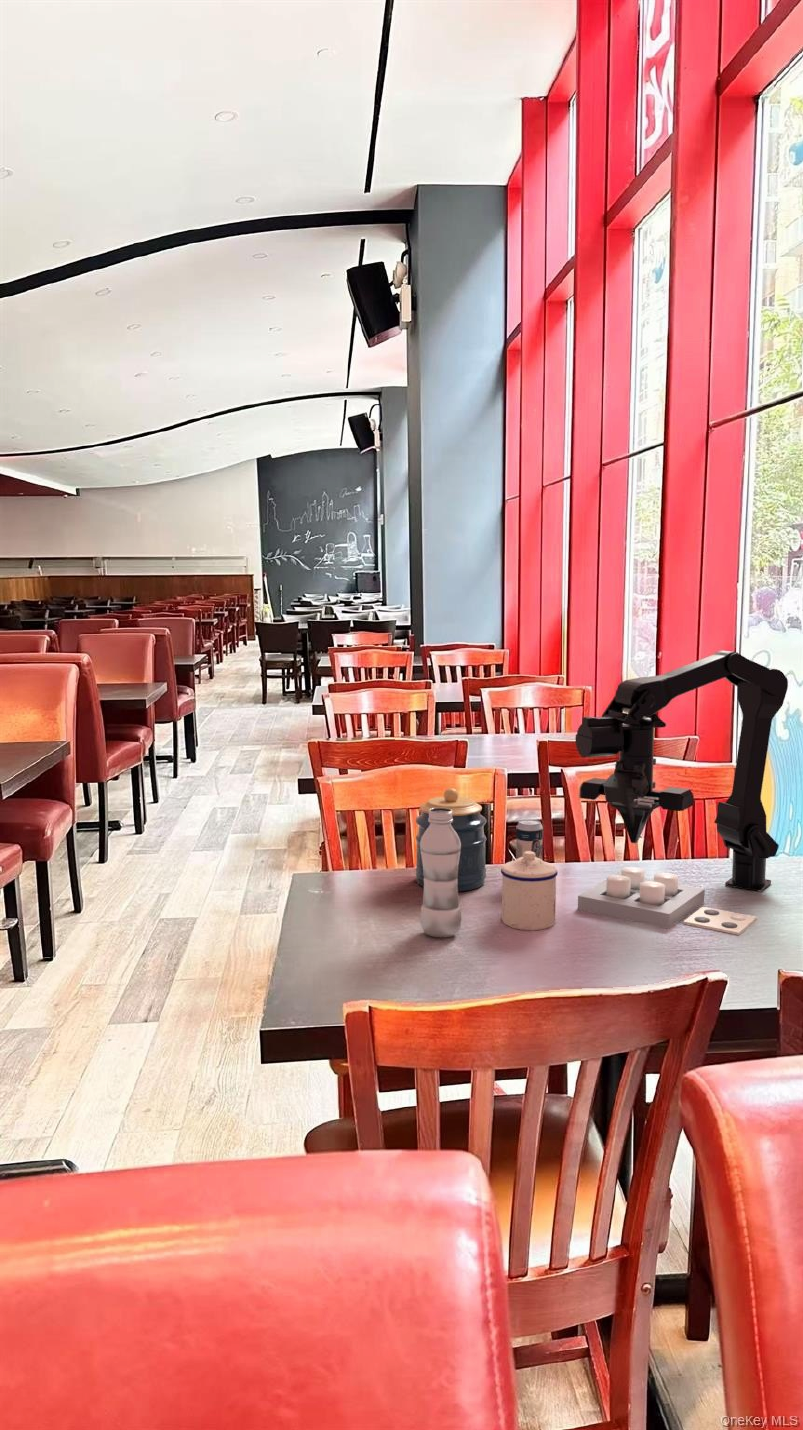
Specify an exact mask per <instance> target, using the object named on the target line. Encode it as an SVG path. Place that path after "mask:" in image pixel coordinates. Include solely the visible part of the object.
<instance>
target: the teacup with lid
mask: <svg viewBox="0 0 803 1430" xmlns="http://www.w3.org/2000/svg"><path fill="white" fill-rule="evenodd" d="M500 873H501V875H502V877H501V878H502V881H501V882H502V884H501V886H502V887H501V888H502V893H501V901H502V902H501V920H502V922H503V923H504V925H506V926H508V927H510V928H513V929H515V930H522V931H540V930H541V931H542V930H544V929H545V930H547V929H549V928H551V927H552V926H553V925H554V924H555V923H556V910H557V909H556V906H557V905H556V904H557V903H556V899H557V898H556V895H557V876H558V874H559V873H558V870H557V867H556V866H555V865H554V864H552V863H550V862H546V861H544V860H543V859H542V860H541V859H539V858H536V854H535V853H534V852H532V851H526V852H524V853H523V857H520V858H518V859H516V858H515V860H511V861H508V862H506V863H504V864H503V865H502V867H501V869H500Z"/></svg>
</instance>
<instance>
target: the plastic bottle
mask: <svg viewBox="0 0 803 1430" xmlns="http://www.w3.org/2000/svg"><path fill="white" fill-rule="evenodd" d="M428 822H429V823H430V826H429V827H428V828H427V830H426V831H425V833H424V834H423V836H422V837H421V841H420V849H421V856H422V863H423V875H424V887H423V891H422V892H423V893H422V896H423V897H422V905H421V907H420V915H419V919H420V926H421V929H422V930H423V933H424V934H426V935H427V936H430V937H434V938H449V937H452V936H455V935H457V934H458V933H459V931H460V929H461V925H462V922H463V921H462V920H463V919H462V912H461V911H462V910H461V908H460V907H461V906H460V904H459V903H460V901H459V891H458V887H457V882H458V879H457V877H458V865H459V858H460V850H461V842H460V839H459V836H458V835H457V833H456V831H455V830H454V829H453V827H452V826H451V823H452V822H453V818H452V810H451V809H449V808H432V809H430V810H429V818H428Z"/></svg>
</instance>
